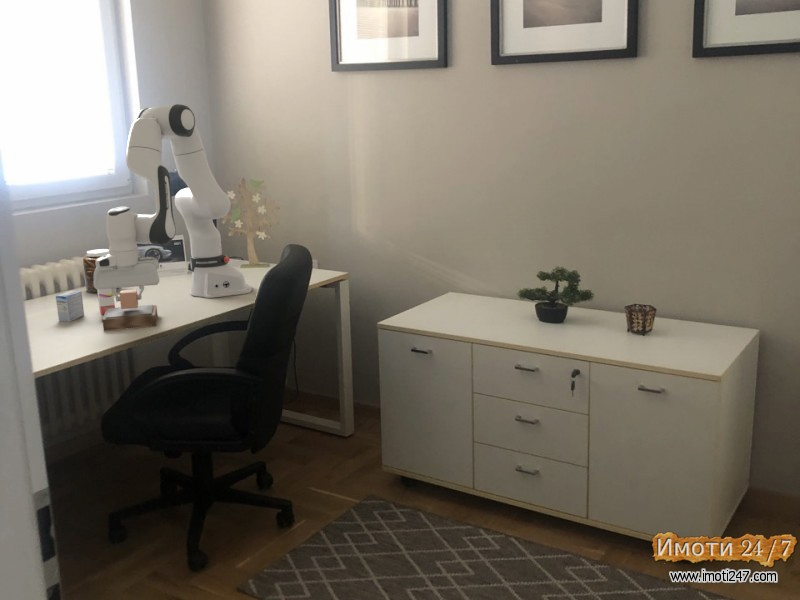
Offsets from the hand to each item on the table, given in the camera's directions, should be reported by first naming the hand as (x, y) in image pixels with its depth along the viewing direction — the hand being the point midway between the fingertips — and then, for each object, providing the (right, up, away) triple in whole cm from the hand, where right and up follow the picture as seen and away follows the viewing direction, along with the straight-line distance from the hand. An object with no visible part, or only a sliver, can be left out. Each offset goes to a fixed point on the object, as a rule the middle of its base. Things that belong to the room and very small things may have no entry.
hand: (129, 300), depth 274 cm
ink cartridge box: (-13, -4, +18) cm, 22 cm away
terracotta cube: (0, -2, 0) cm, 2 cm away
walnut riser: (0, -7, +2) cm, 8 cm away
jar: (-27, +4, +52) cm, 58 cm away
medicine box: (-22, -6, +10) cm, 25 cm away
